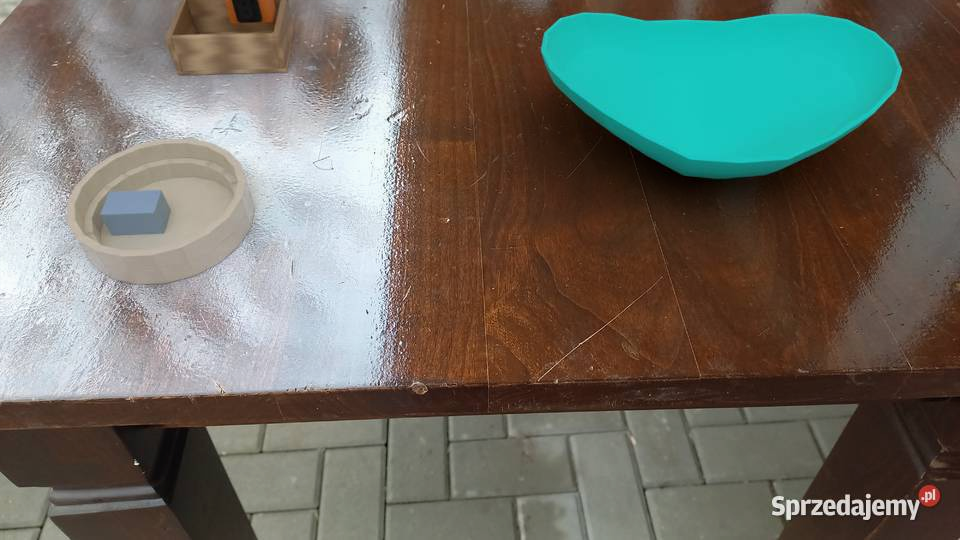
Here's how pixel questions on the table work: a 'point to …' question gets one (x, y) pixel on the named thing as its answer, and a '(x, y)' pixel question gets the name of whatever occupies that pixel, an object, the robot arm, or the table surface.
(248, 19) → the robot arm
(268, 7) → the orange rectangular block
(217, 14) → the holder
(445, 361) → the table surface
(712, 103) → the table top decor
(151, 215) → the blue rectangular block
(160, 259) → the bowl
